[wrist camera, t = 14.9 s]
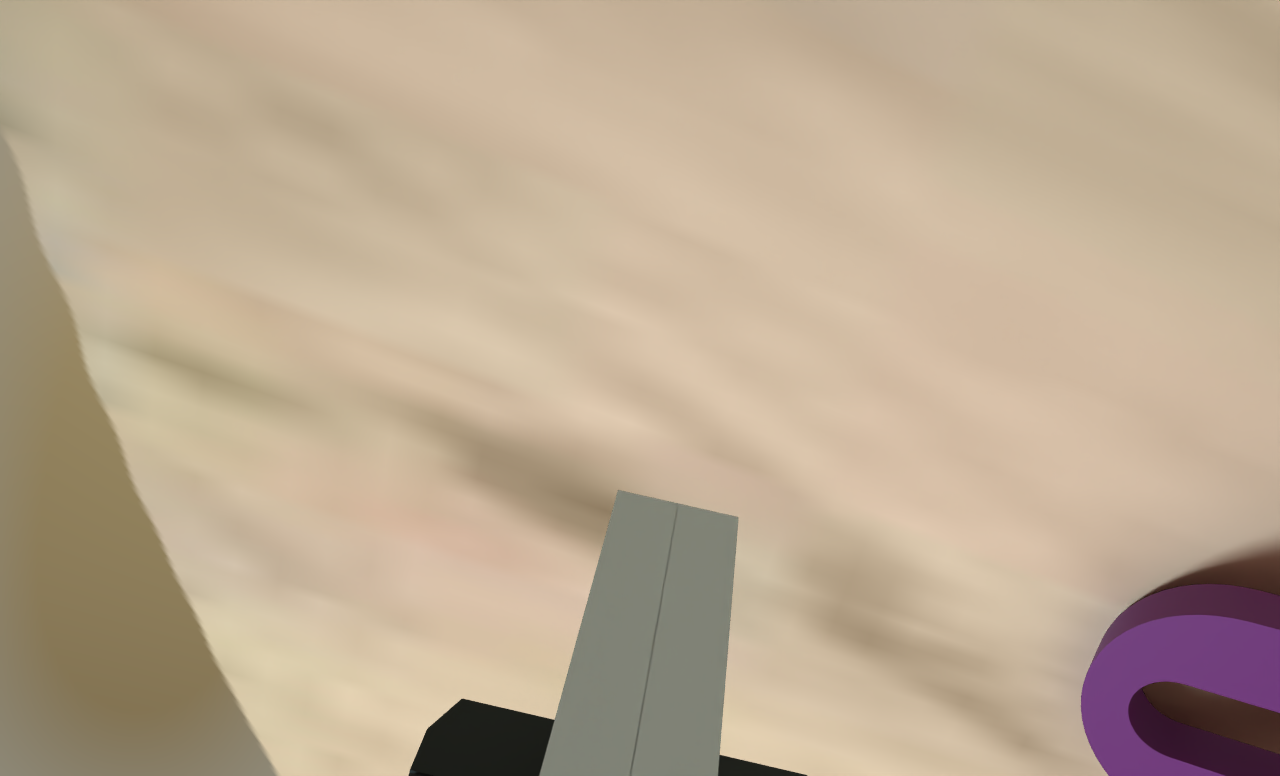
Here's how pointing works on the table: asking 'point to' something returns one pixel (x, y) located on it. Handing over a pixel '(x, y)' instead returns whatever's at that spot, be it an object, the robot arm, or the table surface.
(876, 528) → the table surface
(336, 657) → the table surface
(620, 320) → the table surface
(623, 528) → the robot arm
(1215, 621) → the mounting bracket
